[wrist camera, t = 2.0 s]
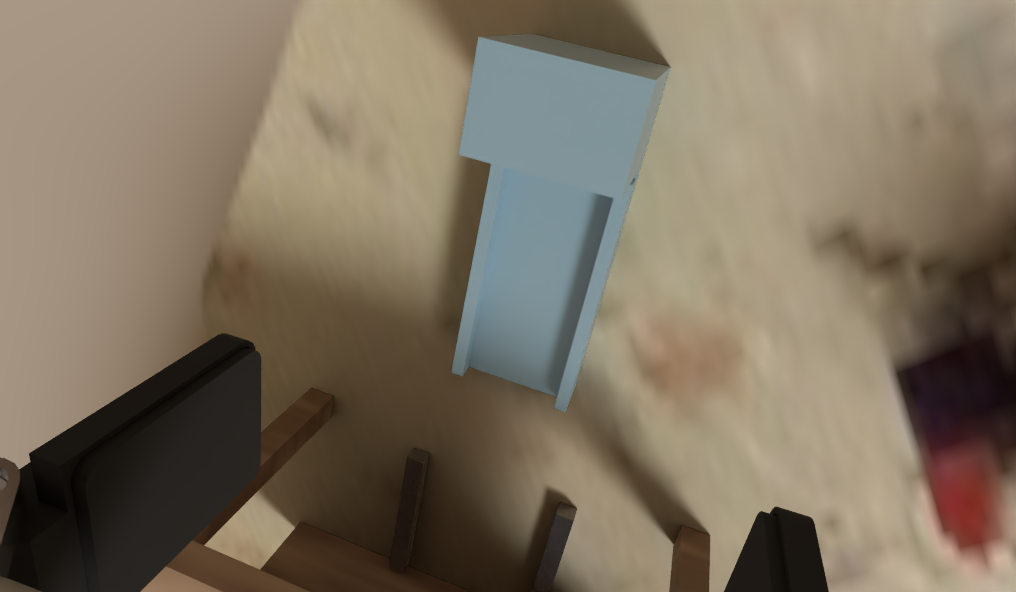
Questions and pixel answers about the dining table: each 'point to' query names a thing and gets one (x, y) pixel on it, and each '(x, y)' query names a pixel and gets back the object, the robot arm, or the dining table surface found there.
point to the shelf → (348, 567)
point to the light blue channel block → (549, 200)
